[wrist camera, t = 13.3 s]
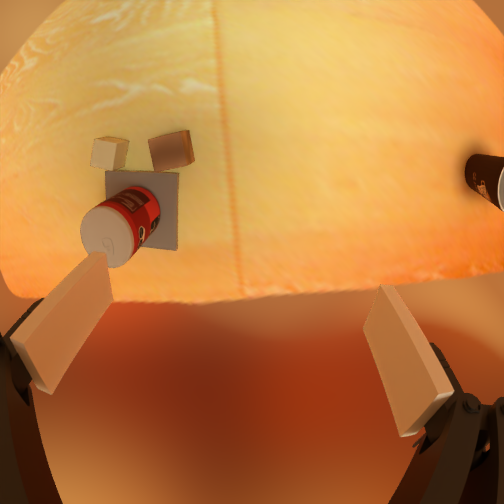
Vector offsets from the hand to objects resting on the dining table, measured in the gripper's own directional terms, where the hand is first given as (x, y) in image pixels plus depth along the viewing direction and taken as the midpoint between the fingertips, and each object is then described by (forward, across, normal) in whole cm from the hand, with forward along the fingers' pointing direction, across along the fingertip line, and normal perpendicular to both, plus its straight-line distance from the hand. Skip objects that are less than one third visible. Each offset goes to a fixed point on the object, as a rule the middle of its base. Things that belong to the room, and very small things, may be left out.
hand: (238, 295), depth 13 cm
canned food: (+28, -17, -6) cm, 34 cm away
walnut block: (+29, -12, +3) cm, 31 cm away
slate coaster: (+29, -17, -6) cm, 34 cm away
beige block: (+29, -22, +2) cm, 36 cm away
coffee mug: (+29, +38, +7) cm, 48 cm away
